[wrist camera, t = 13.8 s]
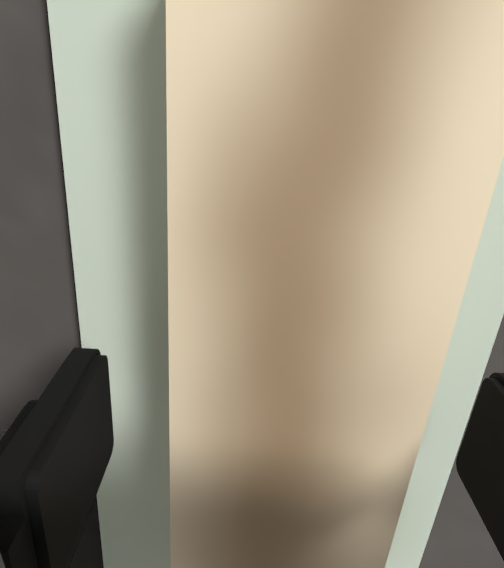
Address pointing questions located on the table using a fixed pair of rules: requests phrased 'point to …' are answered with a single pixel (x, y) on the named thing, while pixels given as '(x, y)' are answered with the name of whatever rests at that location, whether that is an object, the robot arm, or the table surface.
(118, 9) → the mat
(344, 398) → the beige wooden block
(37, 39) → the table surface
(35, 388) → the table surface
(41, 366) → the table surface
